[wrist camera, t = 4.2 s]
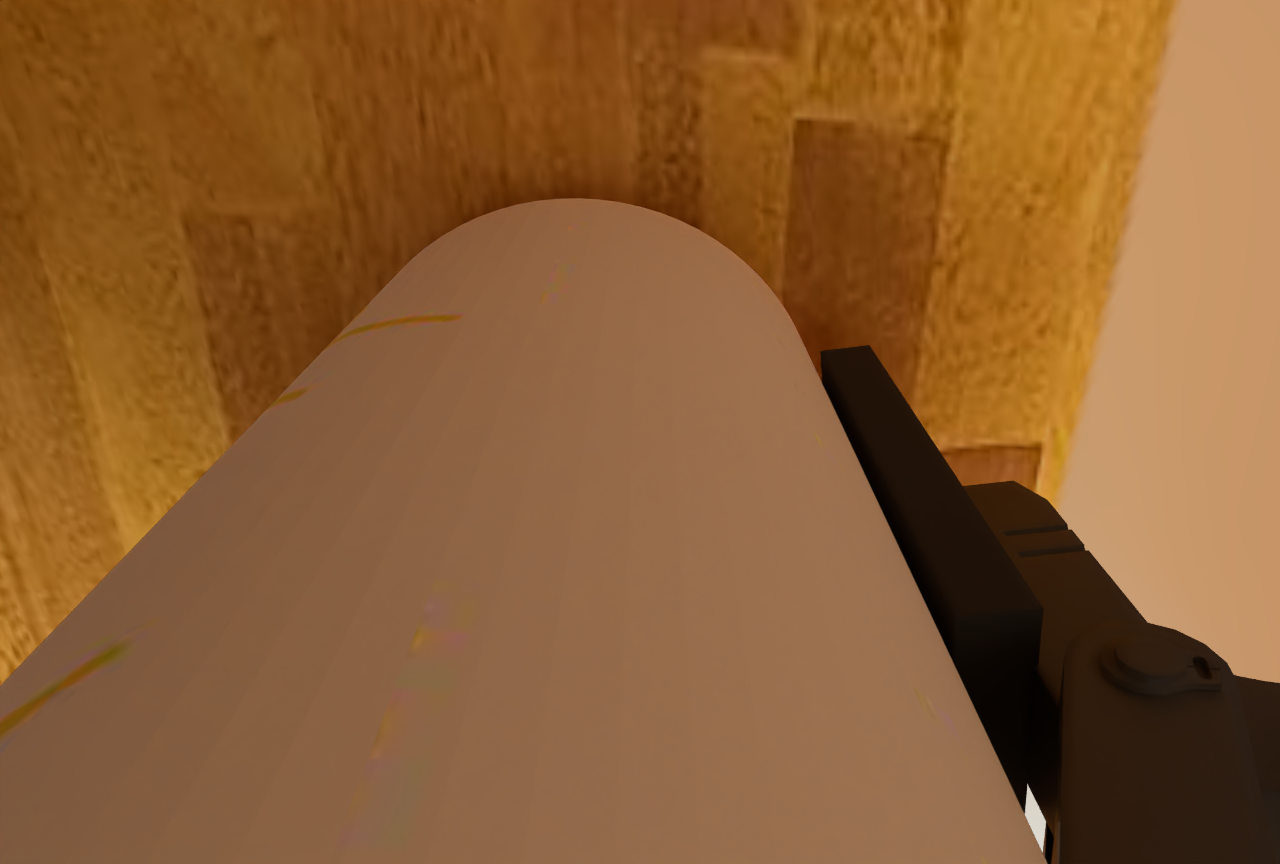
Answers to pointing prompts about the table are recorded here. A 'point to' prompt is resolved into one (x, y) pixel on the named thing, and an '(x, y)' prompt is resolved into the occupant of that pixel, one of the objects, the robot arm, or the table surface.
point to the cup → (518, 600)
